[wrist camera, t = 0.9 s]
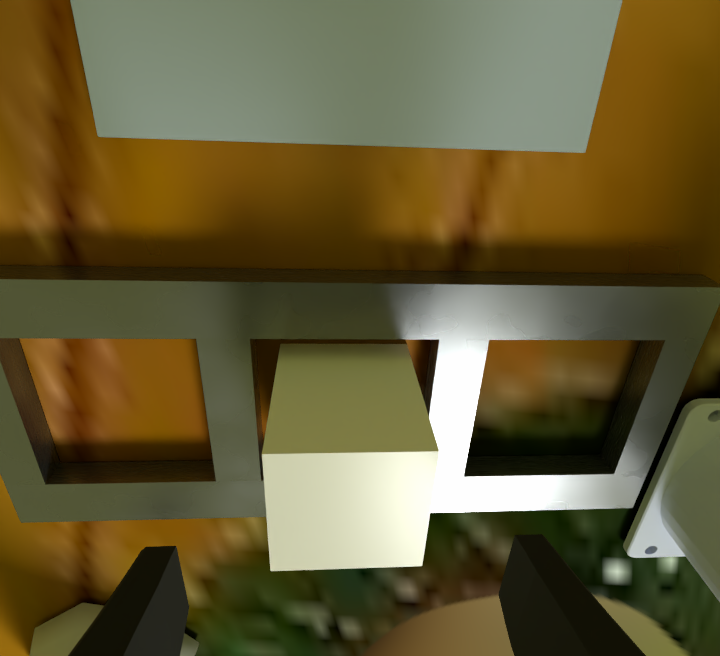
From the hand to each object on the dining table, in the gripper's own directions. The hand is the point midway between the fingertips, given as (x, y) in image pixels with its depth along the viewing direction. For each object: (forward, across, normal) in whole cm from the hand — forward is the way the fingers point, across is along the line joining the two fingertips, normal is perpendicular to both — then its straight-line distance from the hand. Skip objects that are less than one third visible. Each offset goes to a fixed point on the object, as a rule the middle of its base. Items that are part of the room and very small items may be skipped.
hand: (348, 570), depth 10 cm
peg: (+6, 0, 0) cm, 7 cm away
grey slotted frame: (+6, 0, 0) cm, 6 cm away
